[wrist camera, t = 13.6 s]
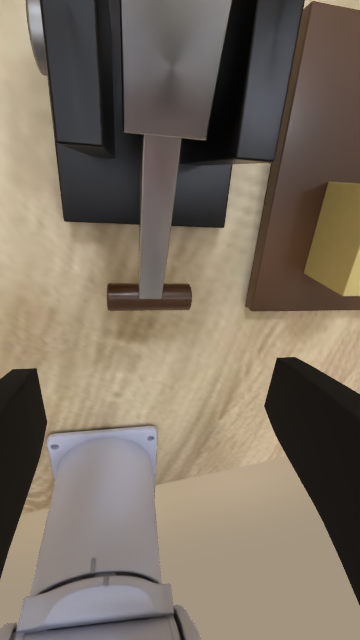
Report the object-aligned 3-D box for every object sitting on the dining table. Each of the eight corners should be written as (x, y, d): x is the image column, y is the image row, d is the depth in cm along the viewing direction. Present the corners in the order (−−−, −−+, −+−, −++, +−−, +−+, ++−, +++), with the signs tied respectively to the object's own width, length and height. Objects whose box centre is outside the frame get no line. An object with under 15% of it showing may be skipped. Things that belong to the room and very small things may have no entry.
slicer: (218, 224, 16) (301, 274, 8) (67, 217, 15) (5, 271, 7) (249, -33, 12) (490, -429, 4) (36, -79, 10) (-235, -832, 3)
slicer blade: (184, 288, 16) (190, 323, 14) (109, 288, 15) (107, 325, 14) (249, -23, 7) (281, -11, 6) (77, -59, 6) (64, -55, 5)
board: (364, 304, 20) (375, 310, 20) (245, 305, 19) (251, 312, 18) (467, 42, 14) (489, 34, 13) (299, 11, 13) (312, -1, 12)
